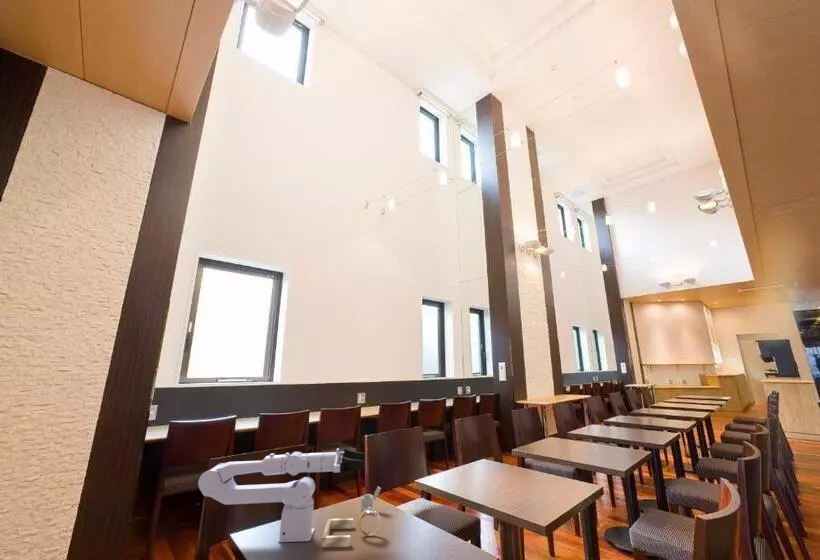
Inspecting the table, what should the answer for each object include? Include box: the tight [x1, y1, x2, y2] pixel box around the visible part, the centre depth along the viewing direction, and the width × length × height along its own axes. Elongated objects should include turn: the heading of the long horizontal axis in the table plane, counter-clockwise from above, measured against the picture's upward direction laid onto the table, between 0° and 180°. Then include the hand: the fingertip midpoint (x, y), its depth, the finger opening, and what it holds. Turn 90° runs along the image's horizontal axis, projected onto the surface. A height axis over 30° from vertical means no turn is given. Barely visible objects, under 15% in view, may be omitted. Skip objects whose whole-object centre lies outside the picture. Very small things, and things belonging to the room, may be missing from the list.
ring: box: [358, 507, 381, 537], centre depth 110 cm, size 7×3×8 cm, turn 90°
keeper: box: [320, 517, 354, 548], centre depth 108 cm, size 8×13×2 cm, turn 5°
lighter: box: [360, 486, 382, 512], centre depth 129 cm, size 7×2×8 cm, turn 89°
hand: (364, 460), depth 115 cm, fingers open, 7 cm apart
